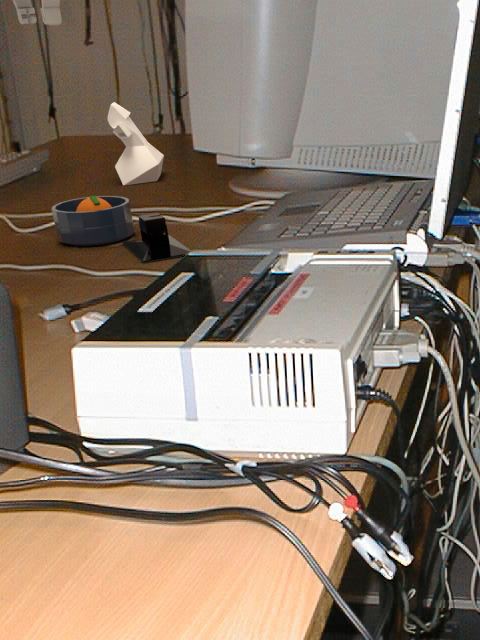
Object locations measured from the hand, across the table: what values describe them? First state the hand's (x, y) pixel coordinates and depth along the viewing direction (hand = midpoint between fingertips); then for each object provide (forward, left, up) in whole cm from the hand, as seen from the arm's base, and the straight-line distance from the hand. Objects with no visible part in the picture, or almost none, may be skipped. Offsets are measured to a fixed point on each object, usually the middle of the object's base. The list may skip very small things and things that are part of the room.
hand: (40, 24), depth 108 cm
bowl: (+6, +14, -29) cm, 32 cm away
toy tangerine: (+6, +13, -25) cm, 29 cm away
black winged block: (+10, +1, -29) cm, 31 cm away
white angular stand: (+30, +55, -29) cm, 69 cm away
